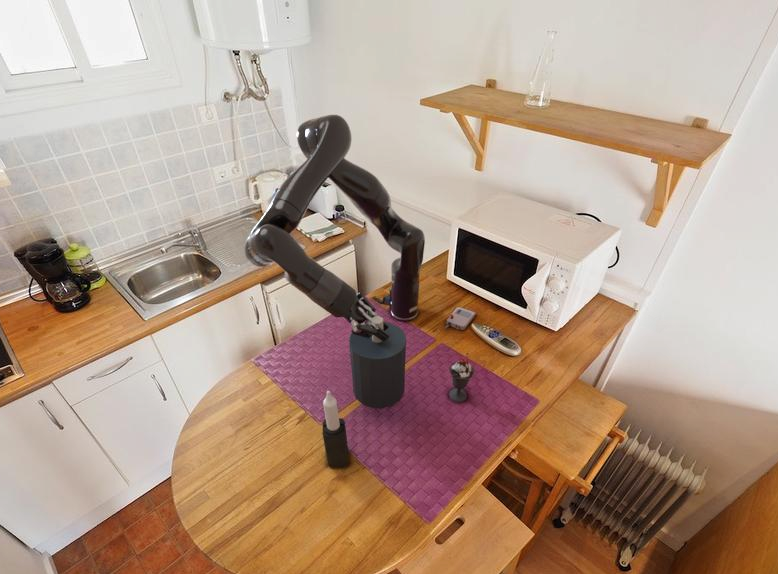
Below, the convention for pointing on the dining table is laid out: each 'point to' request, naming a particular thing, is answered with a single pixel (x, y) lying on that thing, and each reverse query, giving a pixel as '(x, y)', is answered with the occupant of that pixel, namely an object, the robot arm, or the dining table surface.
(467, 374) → the sundae
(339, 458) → the candle
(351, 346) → the grey canister with knob
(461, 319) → the grey handheld device
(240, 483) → the dining table surface
